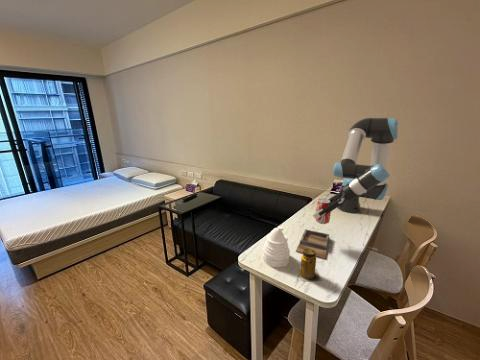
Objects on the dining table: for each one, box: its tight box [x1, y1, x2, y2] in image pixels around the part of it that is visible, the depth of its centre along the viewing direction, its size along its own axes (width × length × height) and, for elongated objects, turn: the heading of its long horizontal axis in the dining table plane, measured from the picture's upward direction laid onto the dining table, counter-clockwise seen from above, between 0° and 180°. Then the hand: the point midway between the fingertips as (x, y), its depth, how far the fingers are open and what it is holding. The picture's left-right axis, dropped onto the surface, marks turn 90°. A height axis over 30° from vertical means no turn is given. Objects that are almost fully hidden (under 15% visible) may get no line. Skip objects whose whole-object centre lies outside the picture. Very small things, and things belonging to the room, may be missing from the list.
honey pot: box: [262, 225, 291, 269], centre depth 106 cm, size 13×13×18 cm
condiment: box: [297, 249, 323, 282], centre depth 96 cm, size 7×8×12 cm
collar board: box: [295, 229, 331, 260], centre depth 119 cm, size 20×14×4 cm
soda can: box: [315, 198, 332, 225], centre depth 115 cm, size 7×7×12 cm
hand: (315, 214), depth 117 cm, fingers closed on soda can, 7 cm apart
